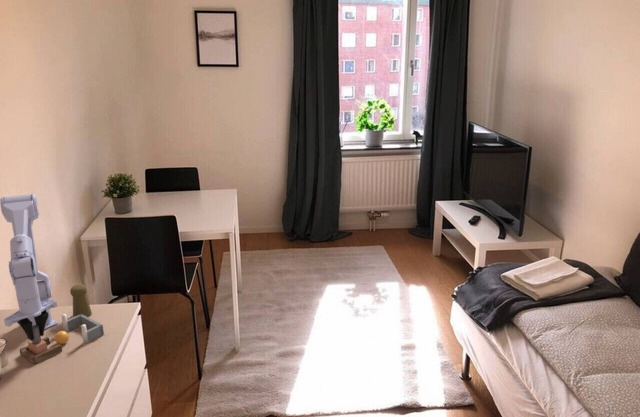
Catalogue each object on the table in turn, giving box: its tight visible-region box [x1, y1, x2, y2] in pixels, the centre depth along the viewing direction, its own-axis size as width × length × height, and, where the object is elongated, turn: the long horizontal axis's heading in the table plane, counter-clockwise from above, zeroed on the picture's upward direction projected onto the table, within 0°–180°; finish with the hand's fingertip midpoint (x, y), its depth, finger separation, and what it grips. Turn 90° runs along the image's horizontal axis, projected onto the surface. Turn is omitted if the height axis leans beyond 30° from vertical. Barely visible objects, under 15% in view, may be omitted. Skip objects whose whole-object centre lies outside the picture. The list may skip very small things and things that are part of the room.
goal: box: [61, 313, 105, 345], centre depth 175 cm, size 12×7×6 cm, turn 54°
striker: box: [27, 325, 49, 355], centre depth 163 cm, size 5×3×9 cm, turn 54°
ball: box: [54, 330, 70, 345], centre depth 170 cm, size 4×4×4 cm
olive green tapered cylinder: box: [69, 283, 93, 318], centre depth 185 cm, size 6×6×11 cm
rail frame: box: [19, 336, 63, 365], centre depth 165 cm, size 8×8×2 cm
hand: (36, 337), depth 163 cm, fingers closed on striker, 2 cm apart
